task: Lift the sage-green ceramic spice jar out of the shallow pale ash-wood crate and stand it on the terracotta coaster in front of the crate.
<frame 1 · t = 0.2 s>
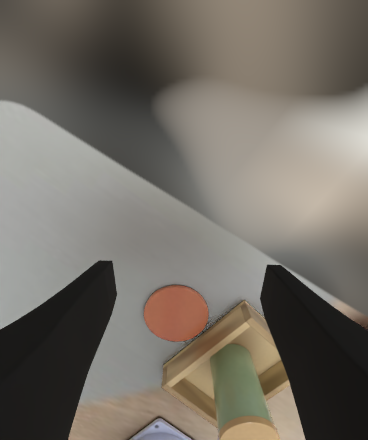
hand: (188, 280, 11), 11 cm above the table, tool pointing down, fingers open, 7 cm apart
spice jar: (230, 360, 25), resting on crate
crate: (230, 357, 25), on the table
coaster: (176, 312, 24), on the table
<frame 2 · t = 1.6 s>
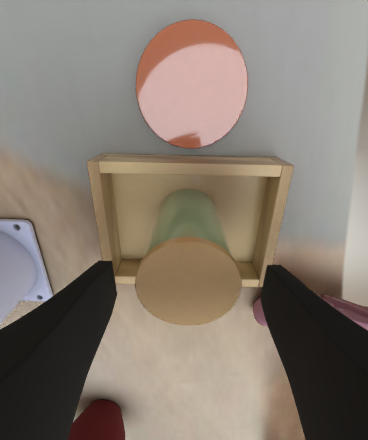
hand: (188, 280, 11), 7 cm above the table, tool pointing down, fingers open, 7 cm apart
spice jar: (188, 218, 17), resting on crate
video game controller: (308, 294, 21), on the table
mug: (95, 404, 29), on the table
crate: (188, 215, 17), on the table
coaster: (191, 91, 14), on the table
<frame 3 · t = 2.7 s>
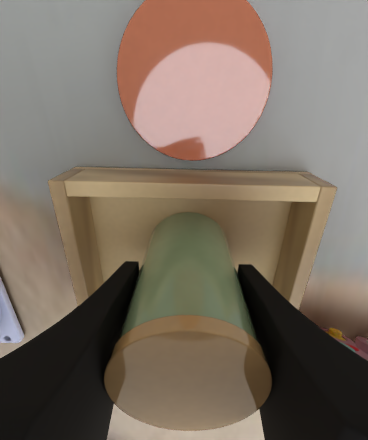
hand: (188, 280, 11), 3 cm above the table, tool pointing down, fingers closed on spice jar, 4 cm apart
spice jar: (188, 248, 13), resting on crate, touching gripper
video game controller: (335, 335, 17), on the table
crate: (188, 244, 14), on the table
coaster: (193, 83, 10), on the table
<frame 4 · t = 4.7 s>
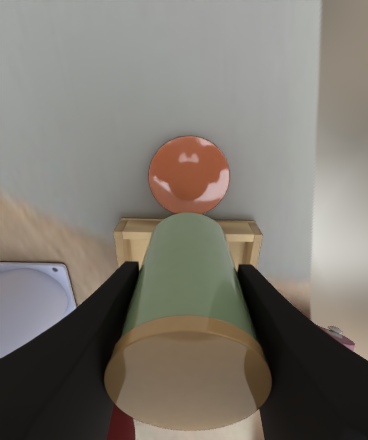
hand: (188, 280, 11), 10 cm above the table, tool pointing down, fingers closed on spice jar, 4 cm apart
spice jar: (188, 248, 13), point 7 cm above the table, touching gripper
mug: (109, 405, 34), on the table
crate: (186, 260, 23), on the table
coaster: (188, 177, 19), on the table
when the fingers open (3 cm above the table, at t = 6.9 s): spice jar stays where it is, resting on coaster.
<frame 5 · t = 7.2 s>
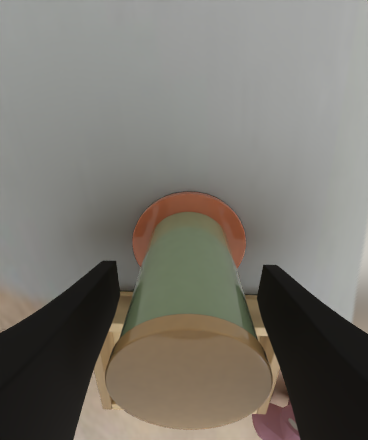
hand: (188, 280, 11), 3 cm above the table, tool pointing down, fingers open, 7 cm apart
spice jar: (188, 247, 13), resting on coaster
video game controller: (307, 398, 21), on the table
crate: (185, 338, 17), on the table
coaster: (188, 244, 14), on the table
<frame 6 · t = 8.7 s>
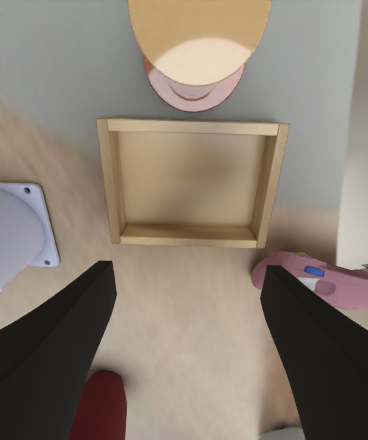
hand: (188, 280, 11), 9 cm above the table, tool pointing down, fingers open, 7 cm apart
spice jar: (194, 54, 14), resting on coaster
video game controller: (304, 262, 22), on the table
mug: (98, 376, 30), on the table
crate: (189, 181, 18), on the table
coaster: (194, 55, 15), on the table
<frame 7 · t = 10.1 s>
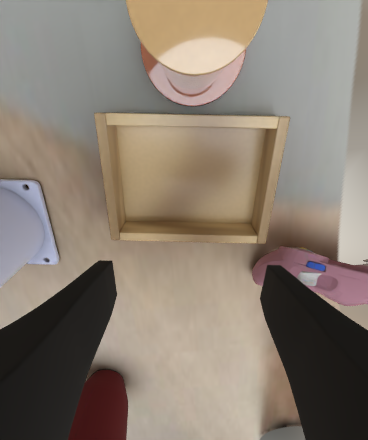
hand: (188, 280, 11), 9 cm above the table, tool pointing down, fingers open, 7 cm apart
spice jar: (192, 46, 14), resting on coaster
video game controller: (305, 259, 22), on the table
mug: (99, 375, 30), on the table
crate: (189, 176, 18), on the table
coaster: (193, 48, 15), on the table
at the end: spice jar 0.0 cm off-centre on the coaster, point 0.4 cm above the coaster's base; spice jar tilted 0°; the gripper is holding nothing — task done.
